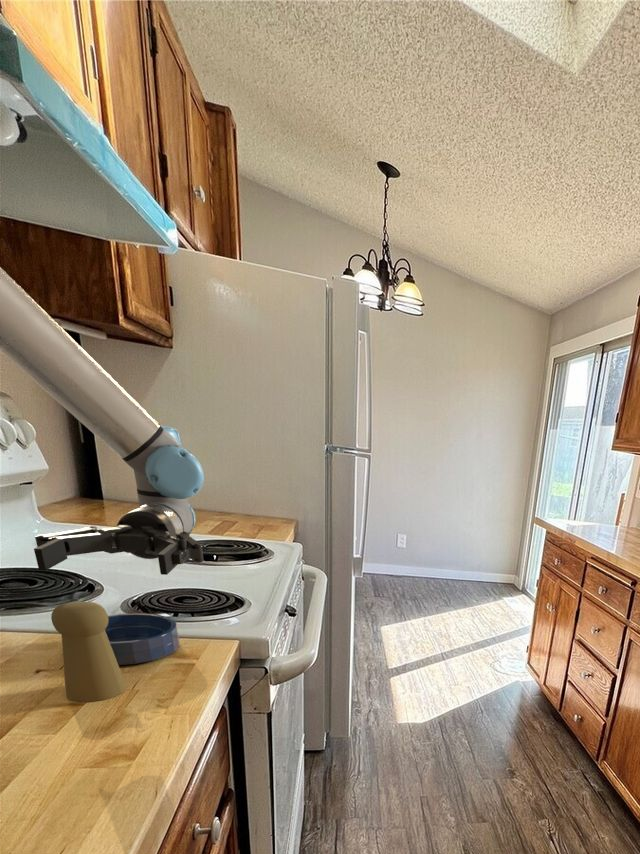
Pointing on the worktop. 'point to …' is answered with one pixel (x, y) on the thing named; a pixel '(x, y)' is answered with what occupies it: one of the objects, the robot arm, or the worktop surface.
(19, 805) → the worktop surface
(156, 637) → the bowl
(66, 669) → the cork
